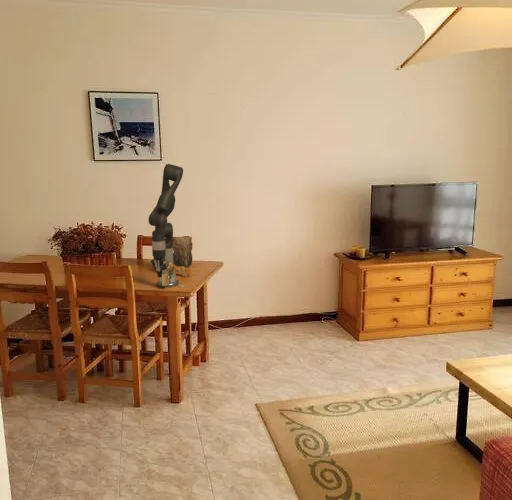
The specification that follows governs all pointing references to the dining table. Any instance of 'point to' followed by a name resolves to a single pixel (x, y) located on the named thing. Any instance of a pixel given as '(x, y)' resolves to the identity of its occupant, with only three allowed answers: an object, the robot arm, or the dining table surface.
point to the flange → (169, 283)
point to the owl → (182, 251)
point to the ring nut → (165, 279)
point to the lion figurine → (177, 269)
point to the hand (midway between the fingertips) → (159, 277)
